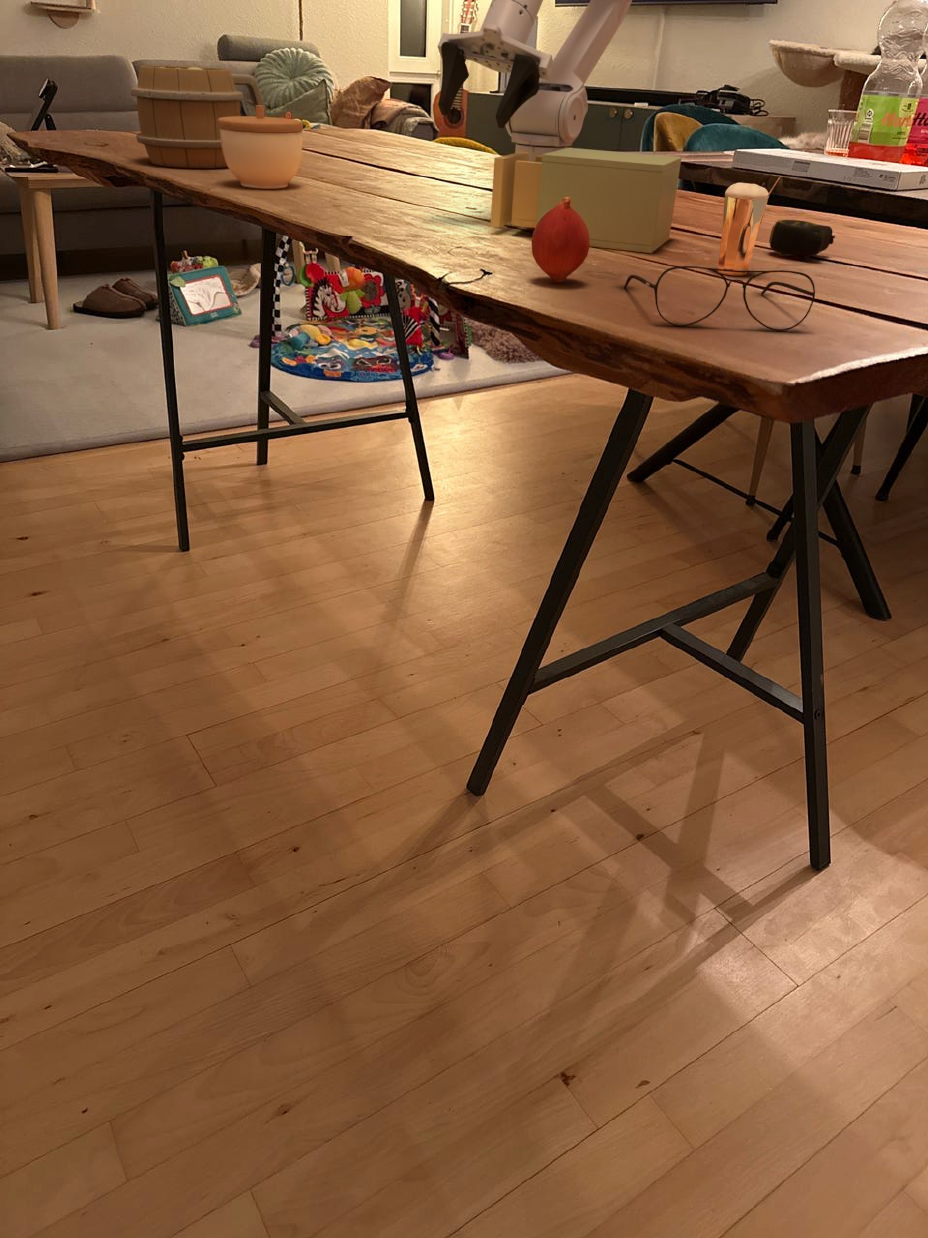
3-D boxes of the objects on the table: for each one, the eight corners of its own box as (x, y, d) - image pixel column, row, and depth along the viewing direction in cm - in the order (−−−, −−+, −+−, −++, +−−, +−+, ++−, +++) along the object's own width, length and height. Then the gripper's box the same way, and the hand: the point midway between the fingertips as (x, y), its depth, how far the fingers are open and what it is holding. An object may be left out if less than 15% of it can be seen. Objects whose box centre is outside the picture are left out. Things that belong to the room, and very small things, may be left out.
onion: (519, 282, 94) (525, 196, 90) (542, 273, 98) (549, 190, 94) (572, 290, 92) (581, 202, 88) (593, 281, 96) (603, 196, 92)
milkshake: (753, 280, 101) (773, 178, 95) (705, 272, 103) (723, 172, 98) (765, 273, 104) (785, 175, 99) (719, 266, 106) (736, 169, 101)
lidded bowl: (321, 186, 148) (319, 107, 142) (266, 193, 138) (261, 109, 133) (262, 178, 153) (257, 101, 147) (205, 184, 144) (198, 102, 138)
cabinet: (535, 239, 116) (542, 153, 111) (560, 227, 125) (568, 147, 120) (651, 253, 111) (664, 164, 106) (669, 239, 121) (681, 157, 116)
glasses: (649, 325, 81) (656, 264, 79) (621, 305, 95) (627, 253, 93) (810, 332, 82) (822, 272, 80) (760, 312, 95) (769, 260, 93)
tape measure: (815, 264, 111) (823, 230, 109) (759, 255, 114) (765, 222, 112) (830, 256, 116) (838, 224, 114) (776, 248, 119) (782, 216, 117)
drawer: (481, 225, 118) (484, 156, 114) (507, 214, 126) (512, 150, 122) (594, 237, 113) (602, 167, 109) (613, 226, 122) (622, 160, 118)
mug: (296, 166, 169) (292, 70, 161) (170, 171, 155) (159, 66, 147) (242, 155, 181) (236, 65, 173) (120, 159, 166) (107, 61, 158)
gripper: (450, -20, 112) (408, 81, 112) (562, 1, 109) (520, 105, 108) (462, 25, 119) (423, 120, 118) (568, 46, 116) (529, 144, 115)
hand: (470, 116), depth 114 cm, fingers open, 7 cm apart
